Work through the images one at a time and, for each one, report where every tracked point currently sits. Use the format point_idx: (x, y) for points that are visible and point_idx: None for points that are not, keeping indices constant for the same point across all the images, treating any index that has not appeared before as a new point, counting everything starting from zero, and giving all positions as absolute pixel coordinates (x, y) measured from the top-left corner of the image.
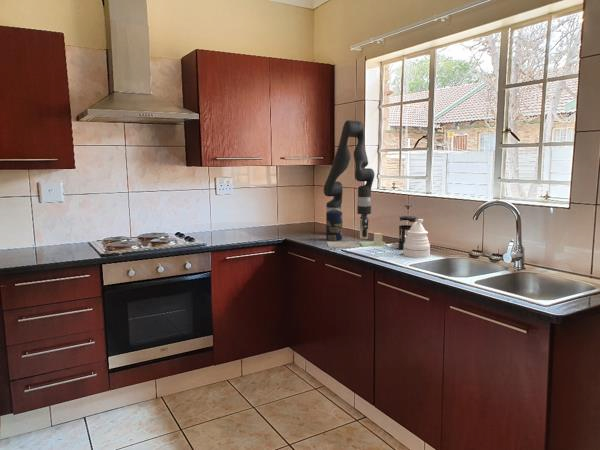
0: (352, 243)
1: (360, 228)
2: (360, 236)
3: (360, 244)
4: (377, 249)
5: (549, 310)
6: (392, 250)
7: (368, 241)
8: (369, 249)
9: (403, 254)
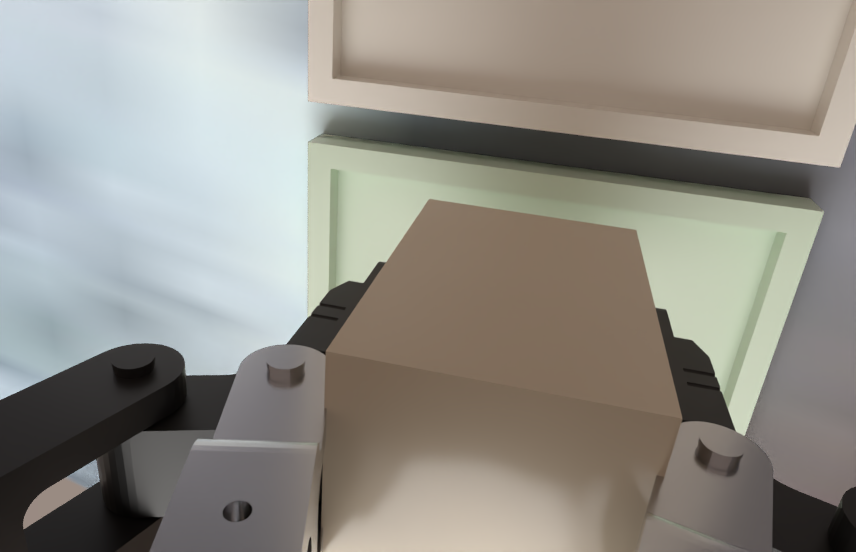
0: (739, 17)
1: (461, 346)
2: (479, 223)
3: (496, 163)
4: (121, 324)
5: None
6: (70, 477)
7: (748, 422)
8: (110, 202)
9: None
